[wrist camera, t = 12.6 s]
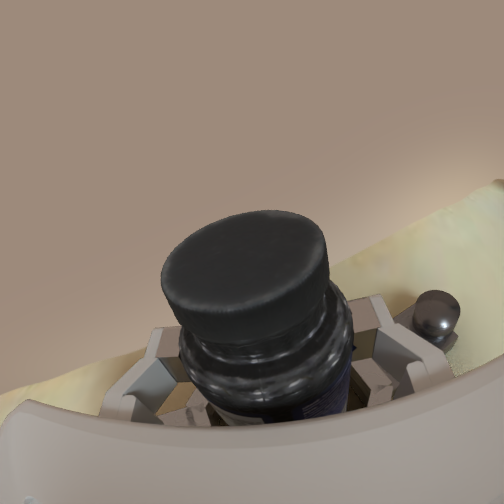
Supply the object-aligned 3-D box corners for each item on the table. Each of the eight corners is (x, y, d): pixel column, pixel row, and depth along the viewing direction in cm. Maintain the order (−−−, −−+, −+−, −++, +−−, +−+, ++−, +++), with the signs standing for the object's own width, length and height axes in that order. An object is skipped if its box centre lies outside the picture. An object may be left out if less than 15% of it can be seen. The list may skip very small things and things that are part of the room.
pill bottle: (325, 357, 16) (308, 185, 10) (361, 440, 11) (406, 279, 5) (230, 384, 16) (151, 230, 10) (245, 473, 11) (116, 362, 5)
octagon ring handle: (399, 283, 21) (403, 259, 20) (489, 363, 12) (504, 340, 11) (100, 411, 16) (80, 394, 15) (119, 539, 7) (92, 536, 6)
